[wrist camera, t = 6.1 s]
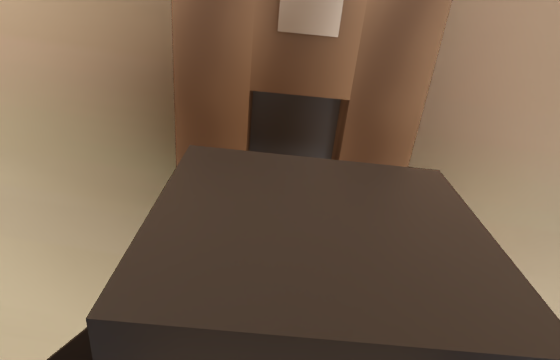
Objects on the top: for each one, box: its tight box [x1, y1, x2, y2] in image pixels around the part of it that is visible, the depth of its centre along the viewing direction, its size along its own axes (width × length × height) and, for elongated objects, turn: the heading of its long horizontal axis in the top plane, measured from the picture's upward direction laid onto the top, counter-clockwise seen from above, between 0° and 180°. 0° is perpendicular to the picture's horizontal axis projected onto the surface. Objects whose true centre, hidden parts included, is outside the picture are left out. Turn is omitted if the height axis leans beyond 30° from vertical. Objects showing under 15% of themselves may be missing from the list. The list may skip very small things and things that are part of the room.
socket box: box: [171, 0, 452, 167], centre depth 19 cm, size 11×18×4 cm, turn 175°
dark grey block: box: [86, 145, 560, 360], centre depth 9 cm, size 6×6×7 cm
